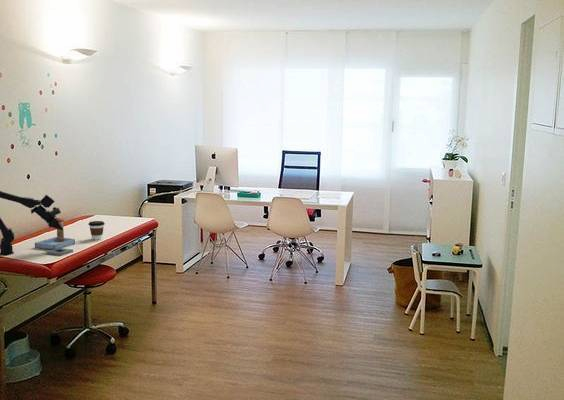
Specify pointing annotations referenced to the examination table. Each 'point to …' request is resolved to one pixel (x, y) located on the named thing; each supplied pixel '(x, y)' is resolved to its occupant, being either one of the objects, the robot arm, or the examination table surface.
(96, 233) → the coffee cup
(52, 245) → the pin tray
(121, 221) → the examination table surface
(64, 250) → the plate
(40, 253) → the examination table surface
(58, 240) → the pin
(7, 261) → the examination table surface
